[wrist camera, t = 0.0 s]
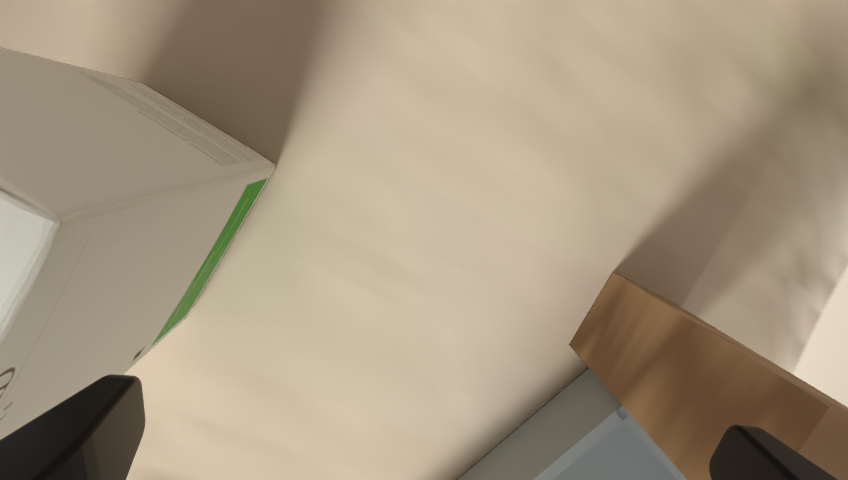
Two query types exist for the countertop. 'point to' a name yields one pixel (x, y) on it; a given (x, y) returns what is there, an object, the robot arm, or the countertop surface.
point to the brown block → (701, 383)
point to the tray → (577, 442)
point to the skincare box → (103, 224)
